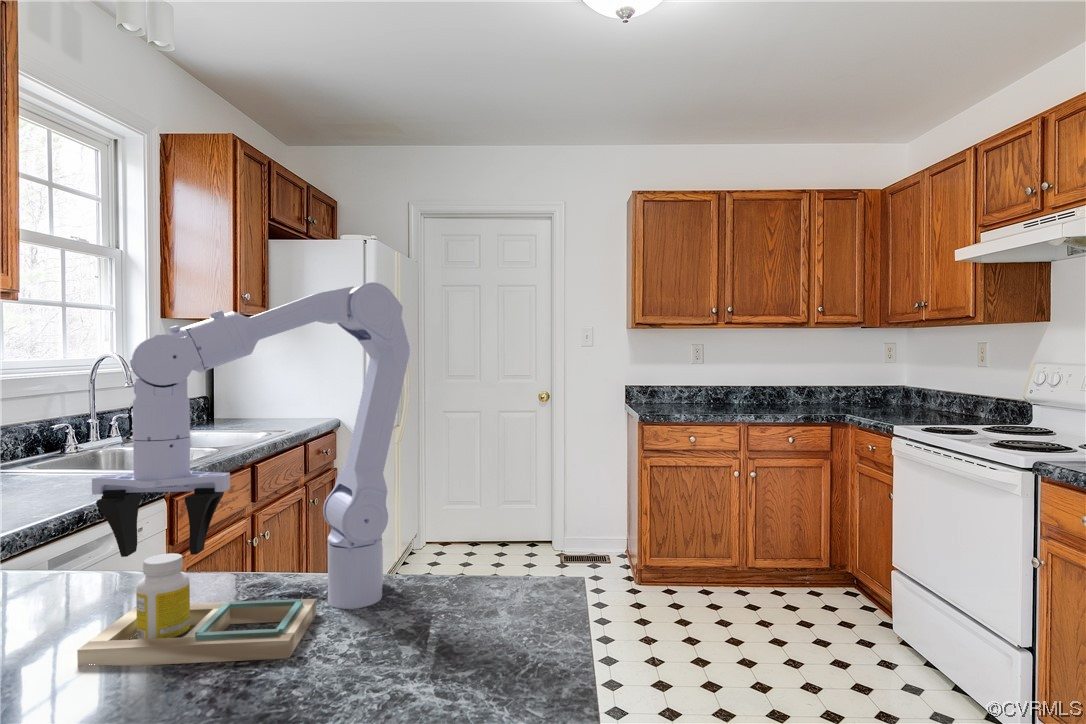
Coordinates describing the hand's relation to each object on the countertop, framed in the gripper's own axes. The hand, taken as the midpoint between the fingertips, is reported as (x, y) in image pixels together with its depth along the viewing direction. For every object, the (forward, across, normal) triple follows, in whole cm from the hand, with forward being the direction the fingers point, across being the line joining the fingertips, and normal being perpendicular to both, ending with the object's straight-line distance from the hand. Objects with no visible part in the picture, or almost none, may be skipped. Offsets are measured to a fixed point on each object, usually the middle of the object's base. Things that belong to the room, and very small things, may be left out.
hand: (163, 553), depth 75 cm
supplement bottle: (+11, 0, 0) cm, 11 cm away
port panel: (+10, +5, 0) cm, 12 cm away
